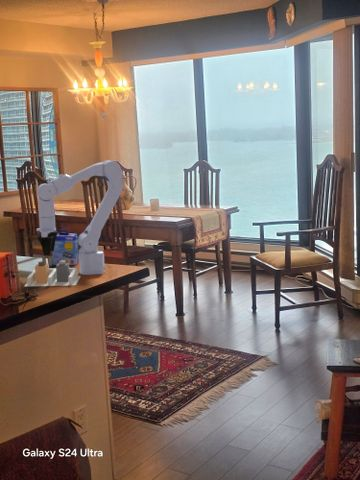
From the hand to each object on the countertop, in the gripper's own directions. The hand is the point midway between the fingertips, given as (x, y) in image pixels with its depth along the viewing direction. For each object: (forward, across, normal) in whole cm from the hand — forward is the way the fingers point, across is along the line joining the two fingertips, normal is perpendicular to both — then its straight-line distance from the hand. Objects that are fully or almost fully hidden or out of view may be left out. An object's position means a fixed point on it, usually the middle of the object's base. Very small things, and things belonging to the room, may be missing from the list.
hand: (49, 253), depth 235 cm
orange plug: (+9, +9, -1) cm, 13 cm away
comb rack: (+9, +8, +2) cm, 13 cm away
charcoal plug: (+9, +8, +6) cm, 13 cm away
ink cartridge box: (+10, -24, +2) cm, 26 cm away
